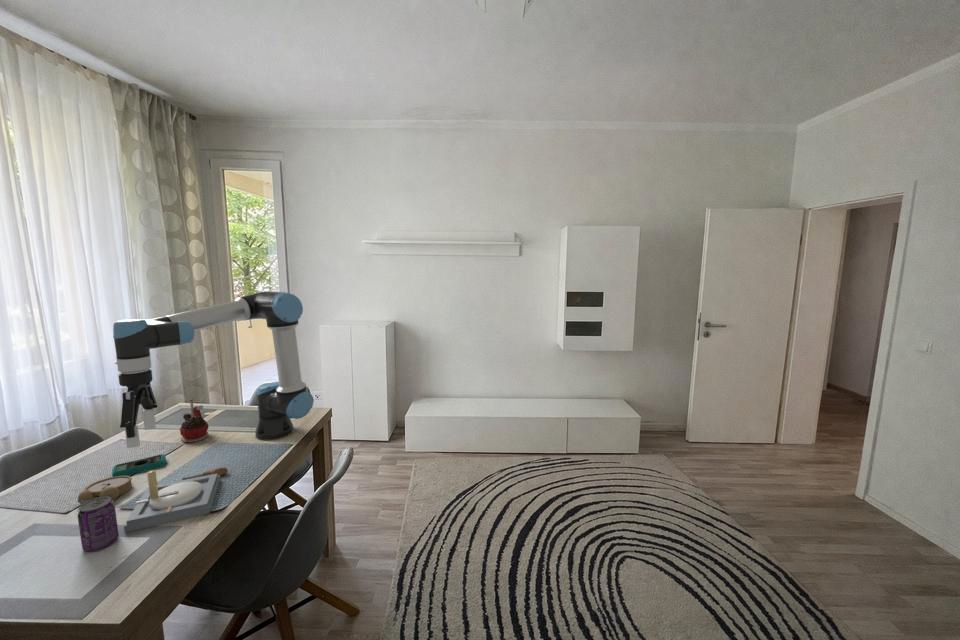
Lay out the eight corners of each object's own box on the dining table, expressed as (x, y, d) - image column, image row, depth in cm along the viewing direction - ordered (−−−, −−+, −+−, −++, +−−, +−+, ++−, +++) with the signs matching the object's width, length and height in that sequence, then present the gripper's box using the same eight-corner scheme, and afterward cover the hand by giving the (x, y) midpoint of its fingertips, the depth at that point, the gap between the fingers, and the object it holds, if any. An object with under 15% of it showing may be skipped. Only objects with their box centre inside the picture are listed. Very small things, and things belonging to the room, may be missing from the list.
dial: (205, 481, 130) (202, 454, 129) (197, 503, 119) (194, 473, 117) (157, 491, 124) (154, 462, 123) (143, 514, 113) (139, 483, 111)
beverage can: (99, 535, 107) (93, 495, 106) (126, 534, 108) (120, 495, 106) (74, 554, 100) (68, 512, 99) (103, 552, 101) (97, 511, 99)
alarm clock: (139, 473, 134) (111, 489, 120) (139, 487, 134) (112, 505, 119) (99, 478, 131) (66, 495, 116) (99, 492, 131) (66, 512, 116)
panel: (220, 480, 135) (219, 471, 135) (209, 513, 117) (208, 503, 117) (147, 494, 126) (146, 485, 126) (124, 532, 108) (123, 521, 108)
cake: (175, 441, 164) (171, 401, 162) (198, 432, 173) (194, 394, 170) (192, 445, 160) (187, 404, 158) (214, 436, 169) (210, 397, 166)
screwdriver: (228, 472, 140) (227, 465, 140) (227, 475, 138) (226, 468, 138) (183, 480, 135) (182, 473, 134) (181, 484, 132) (181, 477, 132)
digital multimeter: (166, 467, 144) (165, 459, 144) (112, 480, 135) (111, 472, 134) (166, 459, 150) (165, 452, 149) (114, 471, 140) (113, 464, 140)
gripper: (135, 362, 125) (142, 424, 127) (98, 383, 102) (107, 458, 105) (164, 360, 128) (170, 420, 131) (134, 380, 105) (142, 452, 108)
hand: (142, 437), depth 118 cm, fingers open, 13 cm apart
